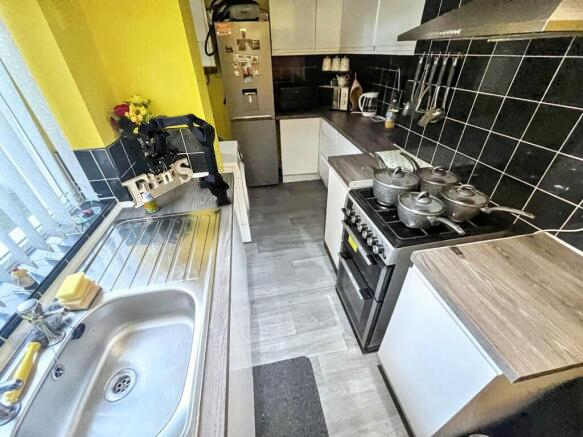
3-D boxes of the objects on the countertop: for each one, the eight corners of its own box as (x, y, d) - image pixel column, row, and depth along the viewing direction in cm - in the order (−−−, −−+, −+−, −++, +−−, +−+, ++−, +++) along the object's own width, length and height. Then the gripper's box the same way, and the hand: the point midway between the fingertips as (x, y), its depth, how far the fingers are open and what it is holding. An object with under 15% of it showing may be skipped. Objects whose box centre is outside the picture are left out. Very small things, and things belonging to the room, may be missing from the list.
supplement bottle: (153, 213, 124) (145, 197, 118) (145, 211, 125) (137, 195, 120) (161, 208, 128) (154, 192, 122) (153, 206, 130) (146, 190, 124)
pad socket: (216, 184, 147) (214, 179, 145) (202, 188, 144) (201, 182, 142) (213, 179, 153) (212, 174, 150) (200, 182, 150) (198, 177, 148)
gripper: (160, 130, 128) (163, 156, 139) (131, 142, 114) (136, 170, 124) (178, 138, 127) (180, 164, 138) (151, 151, 113) (155, 178, 123)
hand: (163, 168), depth 131 cm, fingers open, 9 cm apart
